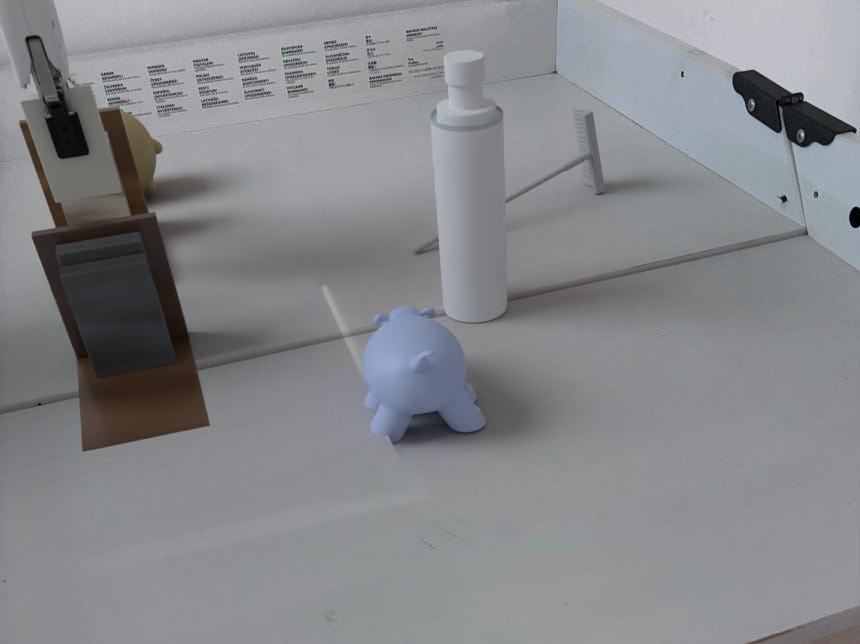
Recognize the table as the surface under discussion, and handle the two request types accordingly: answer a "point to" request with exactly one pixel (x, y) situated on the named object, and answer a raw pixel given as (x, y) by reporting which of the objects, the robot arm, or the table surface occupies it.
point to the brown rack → (123, 329)
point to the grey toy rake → (566, 164)
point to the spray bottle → (470, 193)
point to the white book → (74, 173)
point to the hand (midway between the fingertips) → (73, 149)
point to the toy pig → (142, 150)
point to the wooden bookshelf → (105, 205)
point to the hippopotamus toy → (417, 374)
